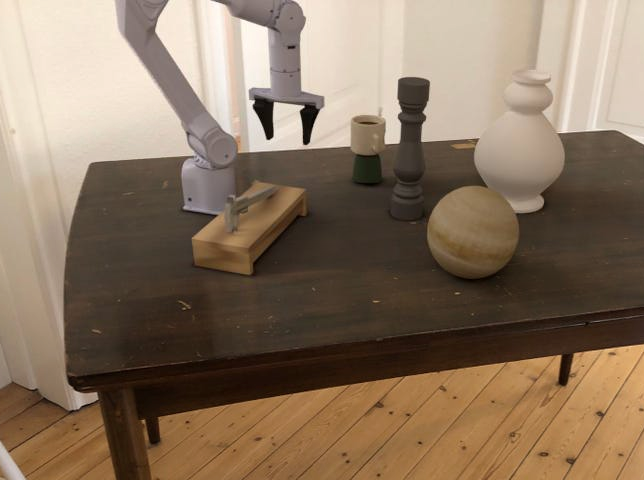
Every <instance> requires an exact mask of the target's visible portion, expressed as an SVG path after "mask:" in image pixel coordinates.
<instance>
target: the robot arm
mask: <svg viewBox="0 0 644 480" xmlns="http://www.w3.org/2000/svg"><path fill="white" fill-rule="evenodd" d="M210 1H211V2H214V3H218V4H221V5H224V6H225V7H226V10H227V11H228V13H229V14H230V16H232V17H234V18H237V19H239V20H243V21H245V22H249V23H252V24H254V25H257V26H261V27H263V28H266V29H267V41H268V45H267V46H268V62H269V63H268V64H269V82H270V83H269V84H270V87H255V86H254V87H251V88H249V89H248V100H249V101H253V102H254V103H253V104H251V105H252V110H253V111H254V112H255V114H256V116H257V118H258V119H259V122H260V123H261V124H260V125H261V127H262V130H263V132H264V136H265V139H266V141H271V140H272V139H273V138H274V136H275V134H274V133H275V131H274V130H275V129H274V109H275V108H274V105H275V103H279V104H286V105H295V106H301V107H302V106H303V107H302V108H301V109H300V110H299V115H300V116H299V117H300V120H301V127H302V145H303V146H308V145H310V143H311V138H312V134H313V133H312V132H313V129H314V126H315V123H316V120H317V118H318V115H319V113H320V111H321V110H322V109H323V108H324V107H325V96H324V95H319V94H314V93H311V92H306V91H304V90H302V62H301V59H302V58H301V33H302V31H303V30H304V28H305V26H306V22H307V17H306V16H305V14H304V10H303V8H302V6H300V4H299V3H298V2H297V1H295V0H210ZM169 2H170V0H114V6H115V14H116V15H115V16H116V23H117V29H118V32H119V34H120V36H121V37H122V39H123V40H124V42H125V43H126V45H127V46H128V47H129V49H130V50H131V52H132V53H133V54H134V56H135V57H136V59H137V60H138V62H139V63H140V65H141V66H142V68H143V69H144V70H145V71H146V73H147V75H148V77H150V79H151V80H152V81H153V83H154V84H155V86H156V87H157V89H158V90H159V92H160V93H161V95H162V97H164V99H165V100H166V102H167V103H168V105H169V106H170V108H171V109H172V110H173V112H174V113H175V115H176V116H177V118H178V119H179V120H180V126H181V128H182V129H183V130H184V132H185V137H186V142H187V145H188V146H189V148H190V149H191V150H192V151H193V152H194V156H193V157H189V158H187V159H186V160H184V163H183V164H182V168H181V174H180V175H181V185H182V193H183V194H182V195H183V201H184V206H183V207H182V209H183V210H184V211H189V212H195V213H201V214H208V215H214V216H218V215H219V214H220V213H222V212H223V211H224V210H225V204H226V201H227V196H230V195H236V198H238V195H237V184H236V173H235V160H236V159H237V157H238V154H239V145H238V142H237V140H236V138H235V137H234V136H233V135H231V134H230V133H228V132H226V131H225V130H224V129H223V127H222V126H221V124H220V123H219V122H218V121H217V120H216V119H215V118H214V117H213V116H212V114H211V113H210V112H209V111H208V110H207V108H206V107H205V105H204V103H203V102H202V100H201V99H200V98H199V96H198V94H197V93H196V91H195V90H194V89H193V87H192V86H191V84H190V82H189V81H188V79H187V78H186V77H185V74H184V73H183V72H182V70H181V68H180V67H179V65H178V64H177V62H176V61H175V59H174V58H173V57H172V55H171V54H170V52H169V50H168V49H167V47H166V45H164V43H163V41H162V40H161V38H160V37H159V35H158V33H157V32H156V29H157V25H158V21H159V17H160V16H161V14H162V13H163V11H164V10H165V8H166V6H167V5H168V3H169Z"/></svg>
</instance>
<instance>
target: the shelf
mask: <svg viewBox="0 0 644 480" xmlns="http://www.w3.org/2000/svg"><path fill="white" fill-rule="evenodd" d="M270 185H273V186H276V187H277V188H278V190H277V191H276V194H274V195H272V196H270V197H268V198H265V199H263V200H261V201H259V202H257V203H255V204H253V205H251V206H249V207H248V212H245V213H244V214H243V213H240V215H239V222H238V229H237V231H233V233H228V232H226V227H225V210H224V211H223V212H222V213H220V214H219V215H216V217H215V218H213V219H212V220H211V221H210V222H208V223H207V225H205V226H204V227H203V228H202V229H201V230H199V231H198V232H197V233H196V234H195V235H194V236H193V237H191V244H192V252H193V261H194V266H196V267H201V268H208V269H213V270H219V271H224V272H230V273H235V274H241V275H247V276H251V275H252V274H254V262H255V261H257V259H258V258H259V257H260V256H261V255H262V254H263V253H264V252H265V251H266V250H267V249H268V248H269V246H270V245H272V244H273V242H274V241H275V240H276V239H277V238H278V237H279V236H280V235H281V234H282V233H283V232H284V230H285V229H287V227H288V226H289V225H290V224H291V223H292V222H293V221H294V220H295V219H296V218H297V217H298V216H301V217H305V216H306V215H308V209H307V208H308V207H307V206H308V205H307V203H308V202H307V189H306V188H300V187H293V186H288V185H280V184H274V183H267V182H261V181H256V182H255V183H254V184H253V185H251V186H250V187H249V188H248V189H246V191H245V192H243V193H242V194H241V195H240V196H239V197H241V196H248V195H250V194H253V193H255V192H257V191H259V190H261V189H264V188H266V187H268V186H270Z"/></svg>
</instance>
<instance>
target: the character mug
mask: <svg viewBox="0 0 644 480" xmlns="http://www.w3.org/2000/svg"><path fill="white" fill-rule="evenodd" d="M386 123H387V121H386V119H385V118H384V117H382V116H379V115H374V114H360V115H355V116H352V117H351V118H350V150H351V152H353V153H354V154H355V157H354V161H353V162H354V163H353V170H352V180H353V181H354V182H356V183H361V184H369V185H370V184H379V183H380V182H382V181H383V175H382V174H383V173H382V163H381V162H382V161H381V156H380V154H381V153H382V152H384V151H385V149H386V140H385V138H386V137H385V135H386V132H387V129H386V128H387V124H386Z"/></svg>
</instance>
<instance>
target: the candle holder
mask: <svg viewBox="0 0 644 480" xmlns="http://www.w3.org/2000/svg"><path fill="white" fill-rule="evenodd" d="M430 89H431V81H430V80H429V79H427V78H424V77H417V76H405V77H400V78H399V79H398V80H397V93H396V94H397V96H396V99H397V101H398V105H399V107H400V110H401V111H400V112H399V113H398V114H397V120H398V121H399V122H400V138H399V142H398V146H397V149H396V153H395V157H394V160H393V164H392V170H393V173H394V175H395V177H396V181H397V183H396V184H395V186H394V187H393V189H392V193H393V194H391V198H390V215H391V216H392V217H393V218H395V219H398V220H403V221H414V220H418V219H421V218H422V217H423V211H424V210H423V209H424V196H423V192H424V190H423V187H421V185H420V184H419V183H420V182H421V179H422V177H423V176H424V174H425V172H426V160H425V155H424V148H423V142H422V136H423V135H422V133H423V125H424V123H425V122H426V120H427V115H426V114H425V113H424V112H425V109H426V108H427V106H428V102H429V101H430V91H431V90H430Z"/></svg>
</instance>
